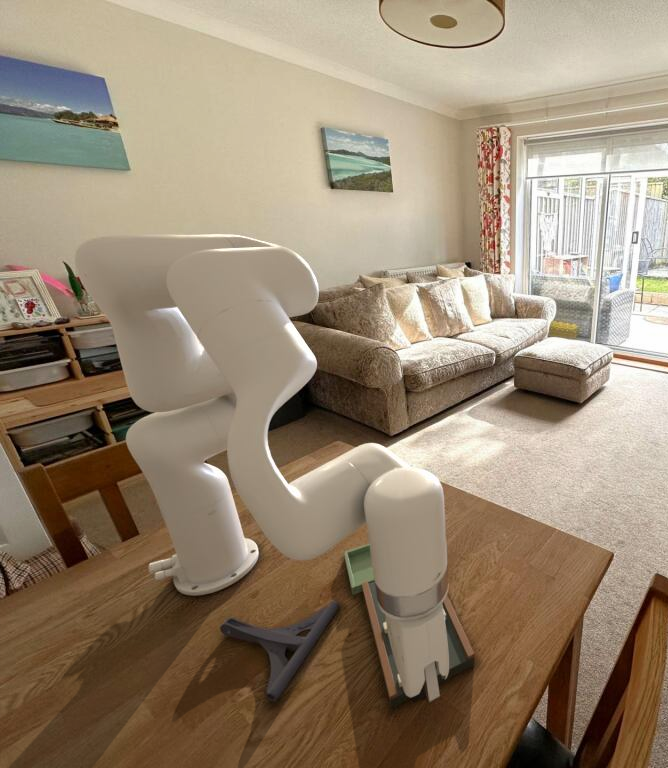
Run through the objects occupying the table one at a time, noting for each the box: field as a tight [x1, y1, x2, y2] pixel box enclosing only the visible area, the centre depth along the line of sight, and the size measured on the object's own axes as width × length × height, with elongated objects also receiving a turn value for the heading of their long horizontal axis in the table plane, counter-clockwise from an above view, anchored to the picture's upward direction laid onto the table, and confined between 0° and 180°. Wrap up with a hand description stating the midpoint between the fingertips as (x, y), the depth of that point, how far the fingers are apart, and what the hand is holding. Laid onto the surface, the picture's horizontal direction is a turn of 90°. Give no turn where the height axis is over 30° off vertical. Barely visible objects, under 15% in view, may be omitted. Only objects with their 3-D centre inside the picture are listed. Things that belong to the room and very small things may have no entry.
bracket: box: [219, 600, 341, 703], centre depth 60 cm, size 14×15×3 cm
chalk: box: [383, 622, 388, 634], centre depth 62 cm, size 4×1×1 cm, turn 119°
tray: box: [343, 543, 374, 596], centre depth 76 cm, size 15×9×2 cm, turn 119°
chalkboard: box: [362, 581, 475, 709], centre depth 63 cm, size 12×20×2 cm, turn 29°
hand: (423, 690), depth 50 cm, fingers closed
